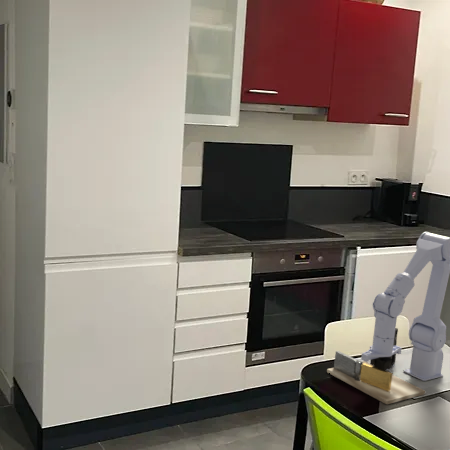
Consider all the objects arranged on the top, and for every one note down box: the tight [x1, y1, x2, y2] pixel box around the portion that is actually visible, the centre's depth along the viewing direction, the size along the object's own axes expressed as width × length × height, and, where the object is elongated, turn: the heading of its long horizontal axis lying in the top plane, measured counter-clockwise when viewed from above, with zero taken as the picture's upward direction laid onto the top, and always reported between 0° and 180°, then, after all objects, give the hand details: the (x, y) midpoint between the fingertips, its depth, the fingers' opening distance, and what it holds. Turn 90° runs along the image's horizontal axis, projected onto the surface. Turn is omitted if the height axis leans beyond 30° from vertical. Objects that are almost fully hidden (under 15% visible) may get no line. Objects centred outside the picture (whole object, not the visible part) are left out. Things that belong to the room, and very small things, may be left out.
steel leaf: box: [333, 350, 363, 381], centre depth 191 cm, size 2×10×5 cm, turn 35°
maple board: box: [326, 360, 426, 405], centre depth 189 cm, size 16×24×1 cm
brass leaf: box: [360, 363, 394, 391], centre depth 184 cm, size 1×9×5 cm, turn 48°
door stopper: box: [369, 327, 399, 370], centre depth 205 cm, size 9×6×12 cm, turn 152°
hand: (378, 380), depth 186 cm, fingers closed, pressing on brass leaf
